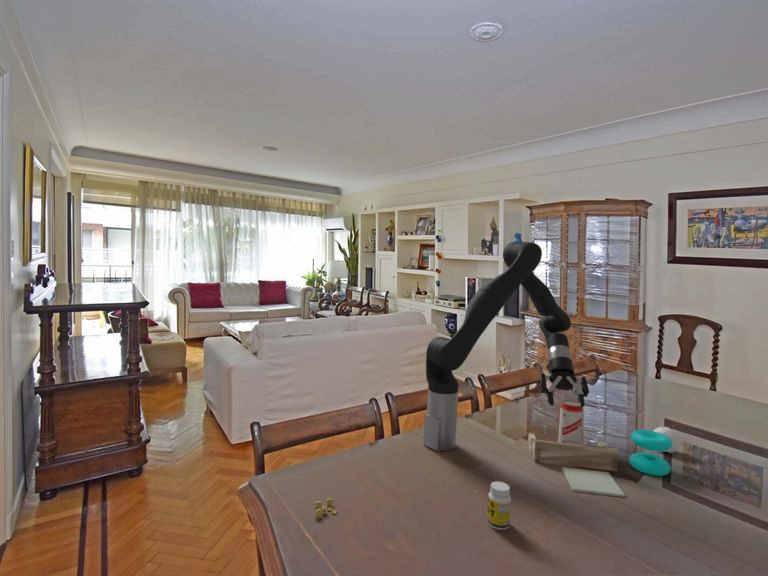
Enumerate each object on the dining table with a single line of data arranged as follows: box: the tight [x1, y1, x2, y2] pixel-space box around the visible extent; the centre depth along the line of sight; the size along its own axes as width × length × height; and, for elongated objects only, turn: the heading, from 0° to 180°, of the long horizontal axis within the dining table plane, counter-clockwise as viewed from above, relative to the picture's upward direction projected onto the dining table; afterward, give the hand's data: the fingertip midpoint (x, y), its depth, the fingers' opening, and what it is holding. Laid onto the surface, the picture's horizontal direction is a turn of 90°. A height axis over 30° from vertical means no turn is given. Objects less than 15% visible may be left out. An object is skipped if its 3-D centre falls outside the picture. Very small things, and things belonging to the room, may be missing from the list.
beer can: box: [557, 399, 584, 444], centre depth 129 cm, size 6×6×16 cm
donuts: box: [628, 429, 672, 477], centre depth 122 cm, size 10×10×10 cm
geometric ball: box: [652, 426, 681, 454], centre depth 135 cm, size 8×8×8 cm
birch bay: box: [527, 432, 619, 472], centre depth 128 cm, size 12×22×6 cm, turn 80°
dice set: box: [314, 497, 338, 520], centre depth 95 cm, size 5×5×2 cm
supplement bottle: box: [486, 481, 512, 531], centre depth 93 cm, size 5×5×8 cm
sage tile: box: [561, 466, 626, 498], centre depth 113 cm, size 12×12×1 cm
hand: (566, 406), depth 134 cm, fingers open, 8 cm apart
